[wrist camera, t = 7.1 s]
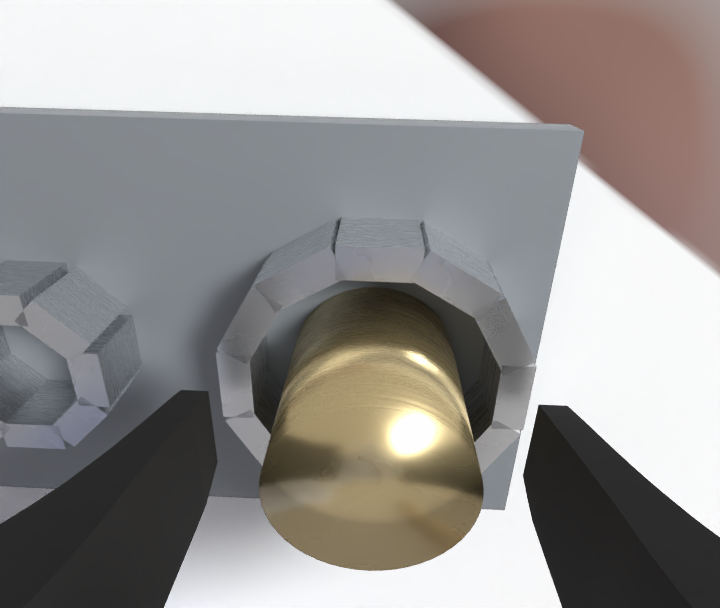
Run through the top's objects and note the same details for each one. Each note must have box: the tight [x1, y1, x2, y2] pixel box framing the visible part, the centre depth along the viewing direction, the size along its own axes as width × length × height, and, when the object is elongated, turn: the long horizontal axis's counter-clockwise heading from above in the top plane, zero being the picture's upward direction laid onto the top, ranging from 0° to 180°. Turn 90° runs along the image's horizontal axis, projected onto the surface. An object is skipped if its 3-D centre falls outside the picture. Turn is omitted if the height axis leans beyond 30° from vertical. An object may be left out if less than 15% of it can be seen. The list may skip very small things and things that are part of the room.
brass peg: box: [259, 287, 484, 571], centre depth 12 cm, size 4×4×5 cm
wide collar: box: [216, 217, 536, 474], centre depth 14 cm, size 8×8×2 cm
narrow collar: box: [0, 260, 142, 449], centre depth 14 cm, size 5×5×2 cm
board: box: [0, 107, 584, 510], centre depth 15 cm, size 18×12×1 cm, turn 89°
